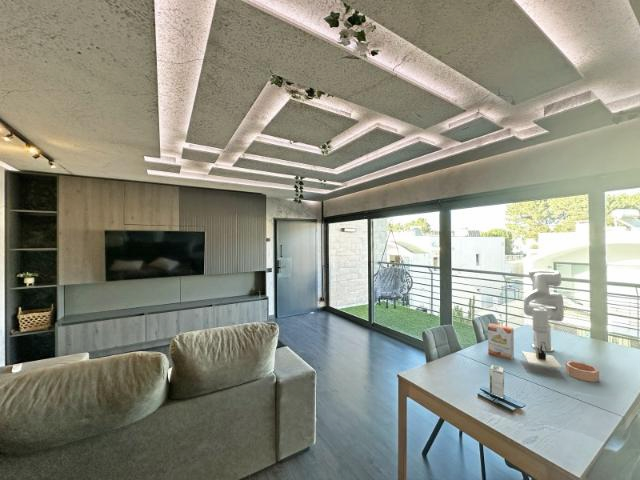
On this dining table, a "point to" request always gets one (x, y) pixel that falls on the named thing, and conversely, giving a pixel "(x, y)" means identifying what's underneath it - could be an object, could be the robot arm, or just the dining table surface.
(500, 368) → the syrup box
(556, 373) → the mat
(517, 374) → the dining table surface
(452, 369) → the dining table surface
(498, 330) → the cracker box
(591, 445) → the dining table surface
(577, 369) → the bowl
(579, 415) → the dining table surface
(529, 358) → the lid
